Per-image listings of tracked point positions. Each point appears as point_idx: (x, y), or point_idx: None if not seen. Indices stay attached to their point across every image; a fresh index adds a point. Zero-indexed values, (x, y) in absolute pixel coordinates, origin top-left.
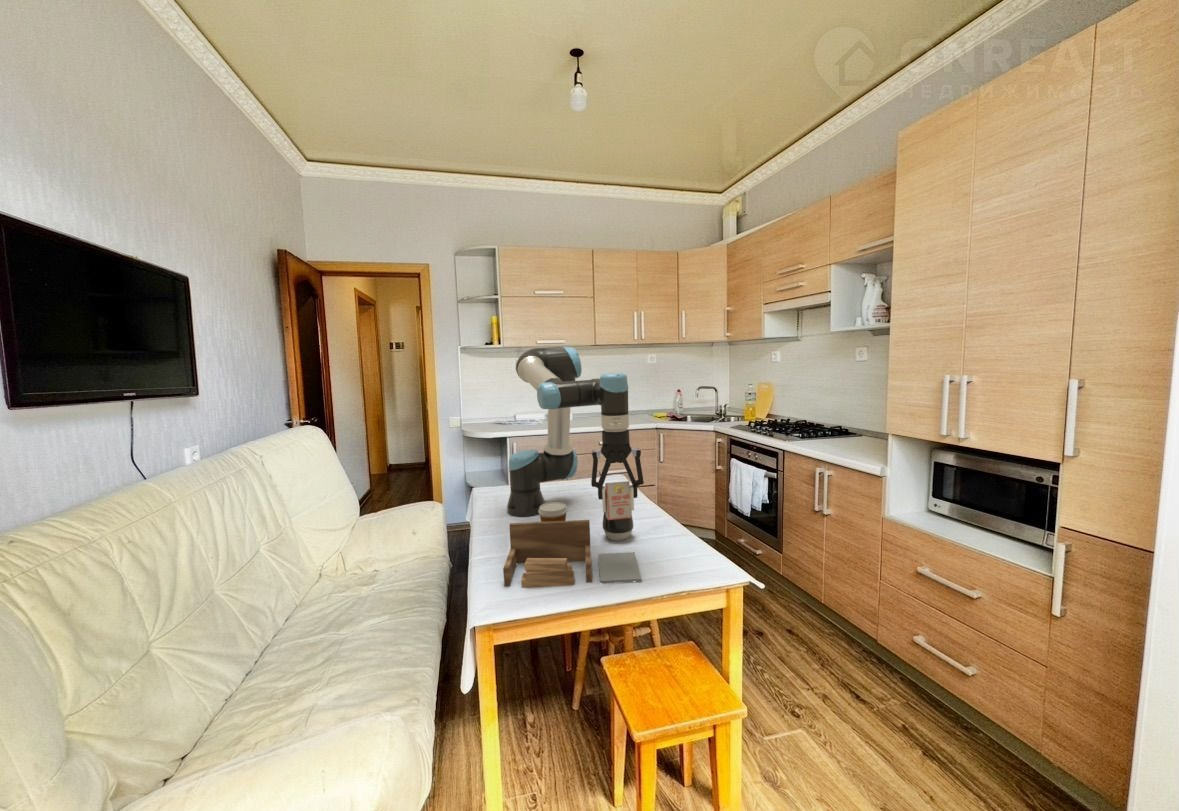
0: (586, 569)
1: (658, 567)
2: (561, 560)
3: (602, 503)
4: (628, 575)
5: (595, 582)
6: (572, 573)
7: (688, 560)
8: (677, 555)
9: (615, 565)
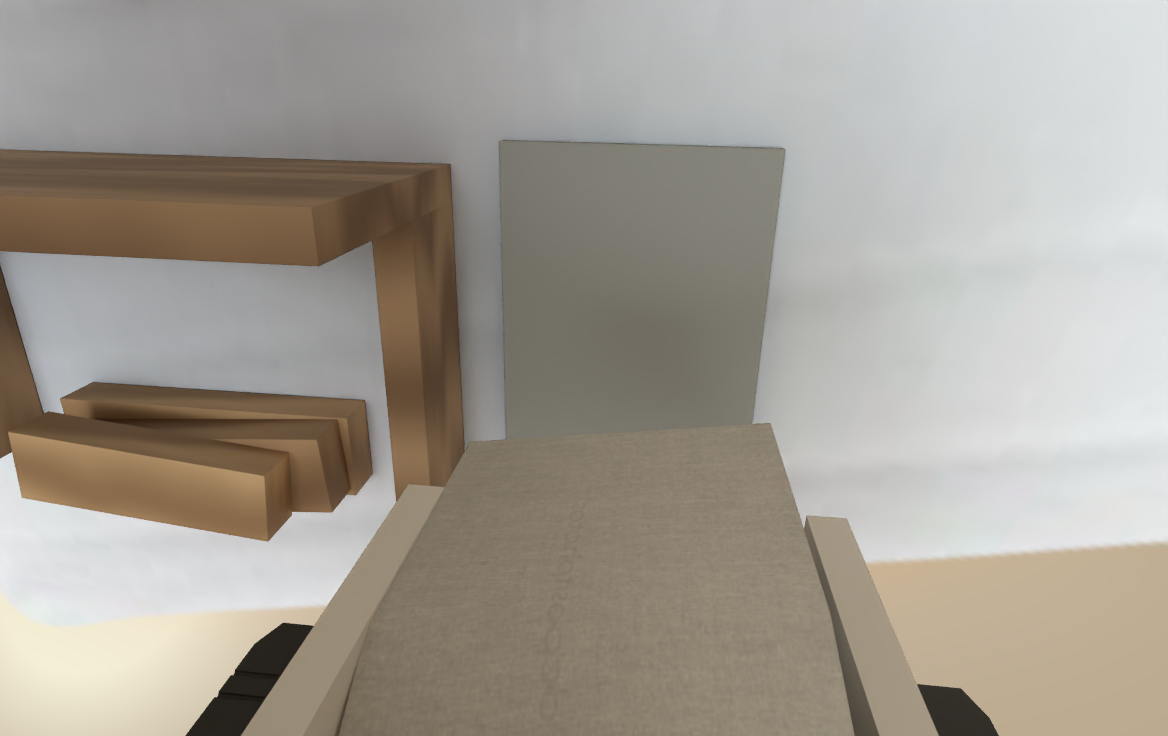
0: None
1: (895, 361)
2: (235, 497)
3: (380, 527)
4: None
5: None
6: (338, 499)
7: (1155, 296)
8: (1115, 205)
9: (610, 337)
